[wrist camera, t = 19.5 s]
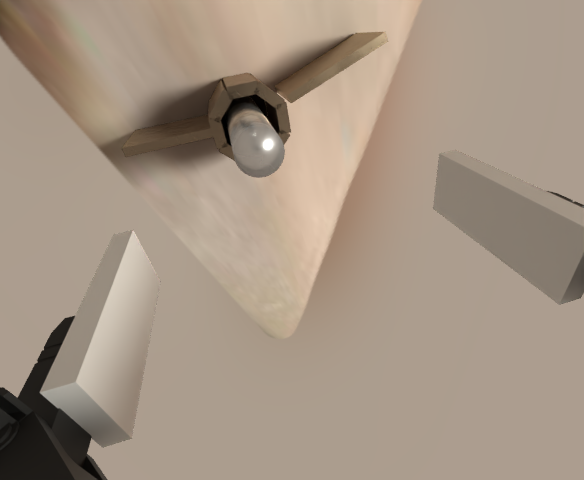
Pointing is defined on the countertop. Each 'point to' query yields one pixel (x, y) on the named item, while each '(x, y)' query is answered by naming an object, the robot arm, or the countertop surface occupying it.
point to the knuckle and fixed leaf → (212, 119)
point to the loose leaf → (330, 64)
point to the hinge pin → (253, 138)
